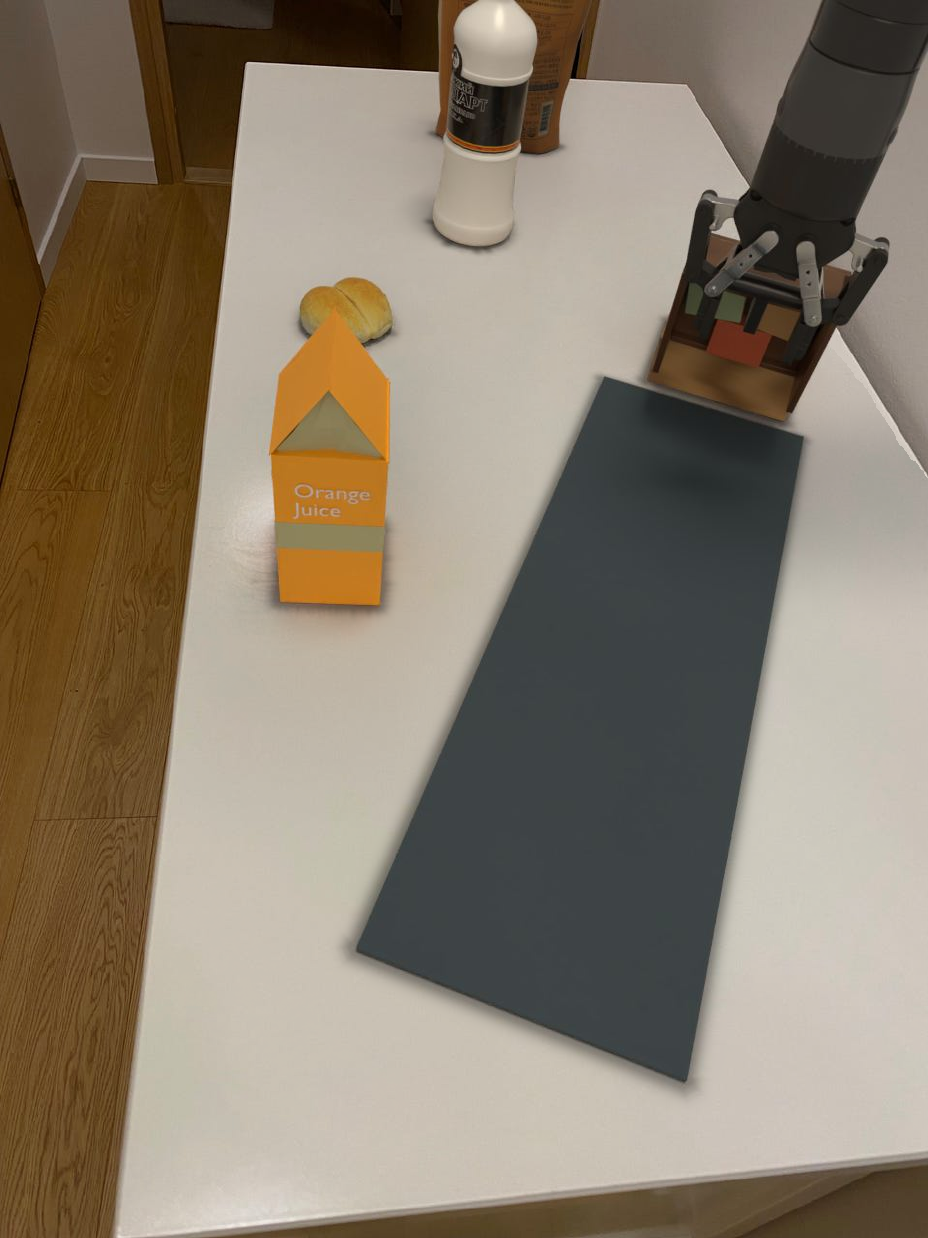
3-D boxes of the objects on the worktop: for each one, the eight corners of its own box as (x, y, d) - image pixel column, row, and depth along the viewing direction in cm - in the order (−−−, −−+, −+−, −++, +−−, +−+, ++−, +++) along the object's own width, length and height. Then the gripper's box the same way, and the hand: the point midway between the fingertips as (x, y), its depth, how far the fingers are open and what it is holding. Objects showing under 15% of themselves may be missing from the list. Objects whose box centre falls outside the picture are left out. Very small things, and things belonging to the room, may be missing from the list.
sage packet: (752, 274, 82) (748, 285, 81) (743, 311, 85) (740, 323, 84) (694, 264, 83) (690, 275, 82) (688, 301, 86) (684, 313, 85)
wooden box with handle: (873, 228, 75) (854, 311, 70) (803, 369, 89) (783, 447, 84) (712, 184, 77) (682, 263, 72) (667, 328, 90) (639, 404, 85)
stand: (797, 358, 100) (816, 316, 96) (784, 422, 93) (804, 379, 89) (669, 320, 102) (682, 278, 98) (646, 380, 94) (660, 337, 90)
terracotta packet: (775, 323, 85) (772, 334, 84) (761, 356, 88) (758, 367, 88) (721, 307, 85) (717, 319, 85) (709, 340, 89) (705, 352, 88)
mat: (802, 439, 91) (803, 436, 91) (685, 1082, 53) (687, 1080, 53) (603, 379, 94) (604, 375, 93) (355, 950, 56) (356, 948, 55)
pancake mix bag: (571, 164, 122) (623, -100, 101) (424, 148, 120) (445, -124, 99) (567, 140, 126) (617, -118, 105) (425, 124, 125) (445, -141, 103)
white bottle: (518, 250, 107) (570, -63, 84) (437, 249, 106) (467, -72, 82) (504, 209, 113) (549, -96, 90) (427, 206, 111) (452, -105, 88)
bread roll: (285, 314, 95) (284, 278, 92) (363, 293, 99) (364, 257, 95) (327, 359, 91) (327, 323, 88) (405, 335, 95) (408, 299, 92)
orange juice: (382, 523, 78) (395, 309, 62) (381, 606, 72) (395, 393, 57) (285, 519, 77) (274, 301, 62) (277, 602, 71) (262, 385, 56)
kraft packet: (829, 302, 81) (826, 314, 80) (806, 336, 85) (803, 347, 84) (775, 280, 81) (772, 292, 81) (755, 314, 85) (751, 326, 84)
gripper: (945, 133, 63) (838, 348, 76) (734, 77, 65) (665, 296, 78) (943, 180, 58) (830, 400, 71) (716, 119, 60) (646, 345, 73)
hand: (744, 345), depth 74 cm, fingers closed on wooden box with handle, 6 cm apart
